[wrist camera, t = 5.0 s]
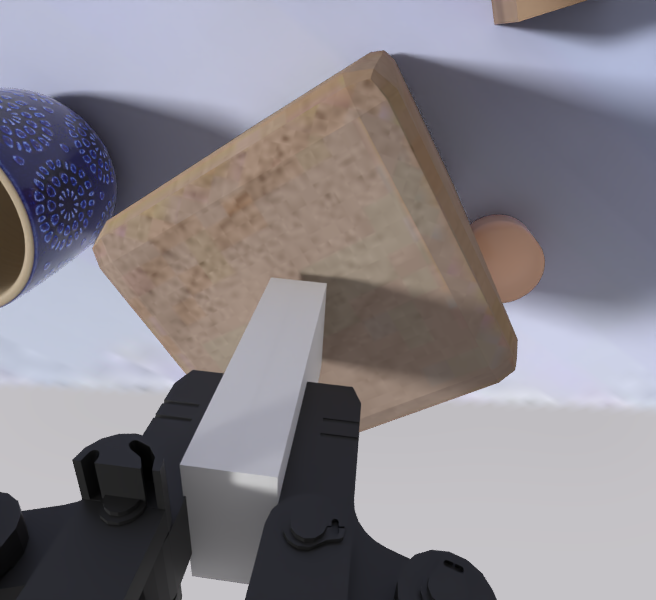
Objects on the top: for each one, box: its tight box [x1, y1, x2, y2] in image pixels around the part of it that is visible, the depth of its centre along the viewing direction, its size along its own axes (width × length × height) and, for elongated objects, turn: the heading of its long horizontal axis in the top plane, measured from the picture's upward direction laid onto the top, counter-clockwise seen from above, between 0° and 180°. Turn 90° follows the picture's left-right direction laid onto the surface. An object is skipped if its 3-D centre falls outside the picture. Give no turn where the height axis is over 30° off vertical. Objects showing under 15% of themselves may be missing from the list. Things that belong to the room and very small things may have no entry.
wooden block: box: [92, 50, 518, 432], centre depth 23 cm, size 10×10×20 cm
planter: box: [0, 88, 117, 308], centre depth 29 cm, size 11×11×11 cm
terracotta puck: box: [470, 214, 545, 303], centre depth 32 cm, size 5×5×3 cm
